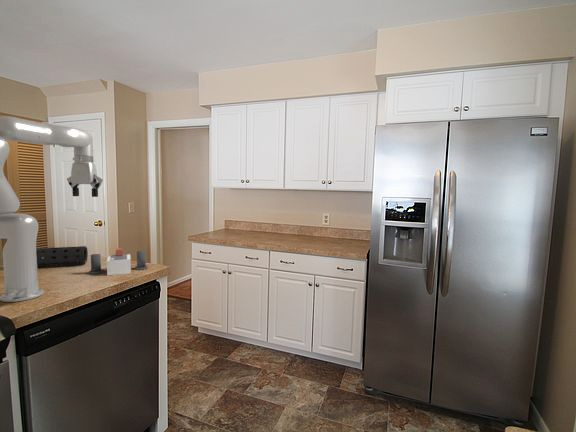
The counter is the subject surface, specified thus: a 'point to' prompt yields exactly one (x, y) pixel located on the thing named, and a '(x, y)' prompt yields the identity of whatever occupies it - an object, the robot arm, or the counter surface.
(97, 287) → the counter surface
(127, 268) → the switch box
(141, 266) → the spool right
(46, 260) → the muzzle brake
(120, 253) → the slider
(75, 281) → the counter surface
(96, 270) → the gray post with base
